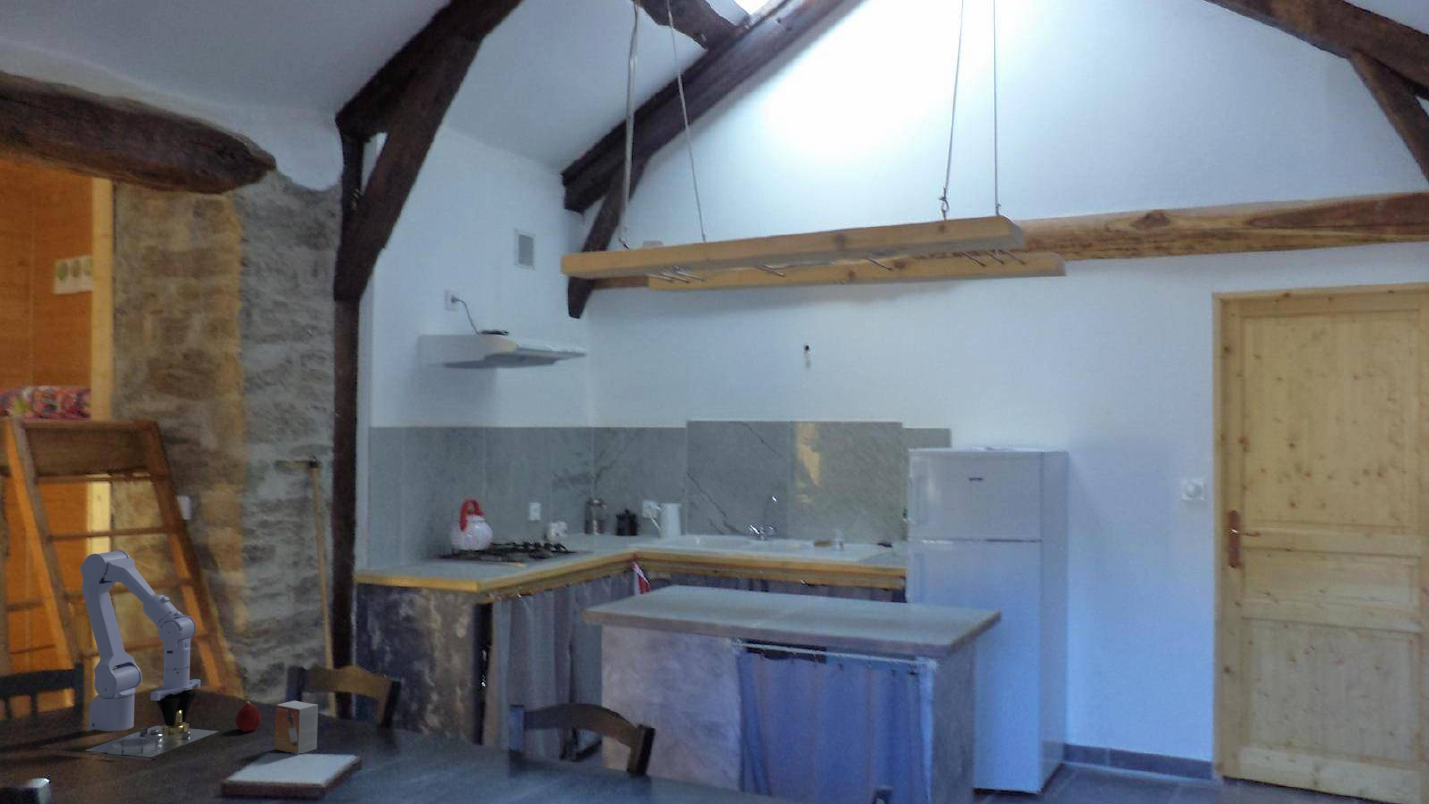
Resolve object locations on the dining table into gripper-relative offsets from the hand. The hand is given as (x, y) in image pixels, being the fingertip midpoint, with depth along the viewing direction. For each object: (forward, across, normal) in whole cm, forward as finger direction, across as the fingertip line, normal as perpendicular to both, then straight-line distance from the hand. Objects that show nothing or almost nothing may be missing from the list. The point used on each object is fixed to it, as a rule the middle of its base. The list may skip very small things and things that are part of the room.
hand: (175, 723), depth 264 cm
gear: (+2, 0, 0) cm, 2 cm away
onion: (+3, +6, -16) cm, 17 cm away
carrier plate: (+3, -8, -1) cm, 9 cm away
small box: (+3, -2, -35) cm, 35 cm away
